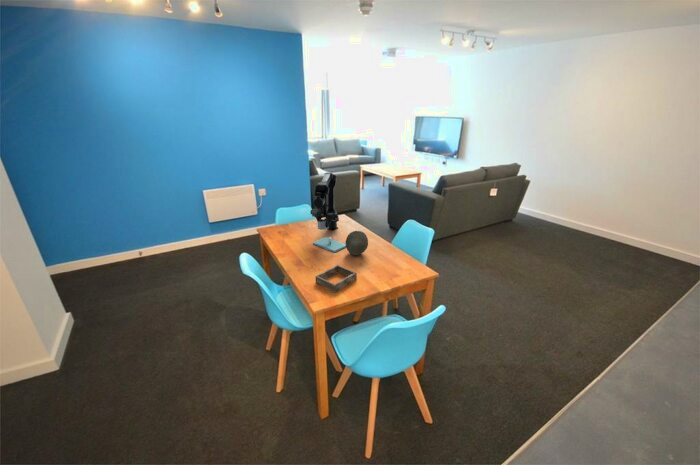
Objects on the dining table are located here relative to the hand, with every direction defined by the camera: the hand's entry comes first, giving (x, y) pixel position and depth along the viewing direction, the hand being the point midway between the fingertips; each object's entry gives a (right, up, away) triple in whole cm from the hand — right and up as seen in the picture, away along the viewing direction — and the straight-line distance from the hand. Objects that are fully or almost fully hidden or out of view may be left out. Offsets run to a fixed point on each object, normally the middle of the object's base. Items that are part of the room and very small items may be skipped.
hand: (323, 226), depth 197 cm
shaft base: (+4, -12, 0) cm, 13 cm away
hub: (0, -1, 0) cm, 1 cm away
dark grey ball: (+22, -18, -13) cm, 31 cm away
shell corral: (+11, -29, -42) cm, 52 cm away
